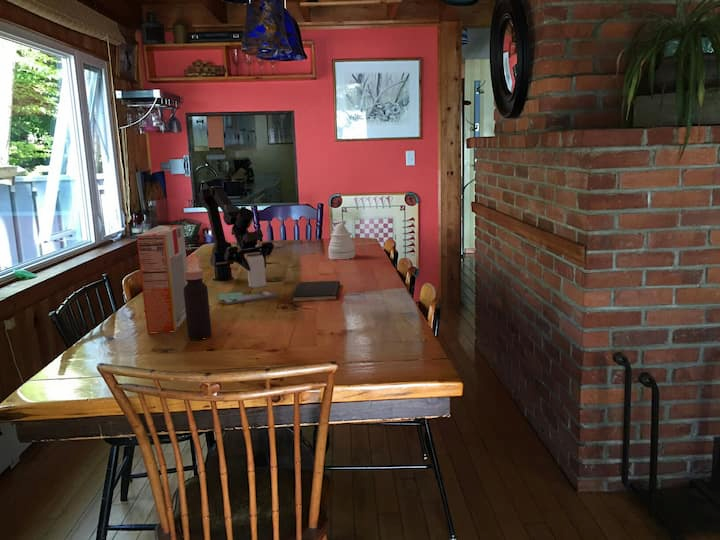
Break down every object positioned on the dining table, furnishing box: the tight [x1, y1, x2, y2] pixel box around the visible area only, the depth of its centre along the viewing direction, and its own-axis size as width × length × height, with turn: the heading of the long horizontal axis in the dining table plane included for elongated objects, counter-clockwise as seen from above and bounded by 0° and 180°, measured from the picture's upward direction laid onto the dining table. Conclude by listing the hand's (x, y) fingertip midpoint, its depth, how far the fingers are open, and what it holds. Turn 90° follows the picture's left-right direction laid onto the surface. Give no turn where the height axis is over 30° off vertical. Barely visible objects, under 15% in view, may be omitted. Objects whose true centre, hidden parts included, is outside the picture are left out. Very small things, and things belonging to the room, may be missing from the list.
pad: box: [217, 291, 245, 302], centre depth 224 cm, size 9×9×1 cm
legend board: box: [223, 291, 277, 305], centre depth 219 cm, size 18×6×1 cm, turn 116°
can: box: [246, 253, 267, 289], centre depth 227 cm, size 6×6×12 cm
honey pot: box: [327, 220, 356, 260], centre depth 292 cm, size 13×13×18 cm
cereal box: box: [136, 224, 189, 334], centre depth 191 cm, size 23×8×30 cm, turn 2°
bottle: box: [183, 268, 213, 340], centre depth 175 cm, size 7×7×20 cm
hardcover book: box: [291, 280, 341, 302], centre depth 225 cm, size 16×23×2 cm
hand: (257, 269), depth 225 cm, fingers closed on can, 6 cm apart
